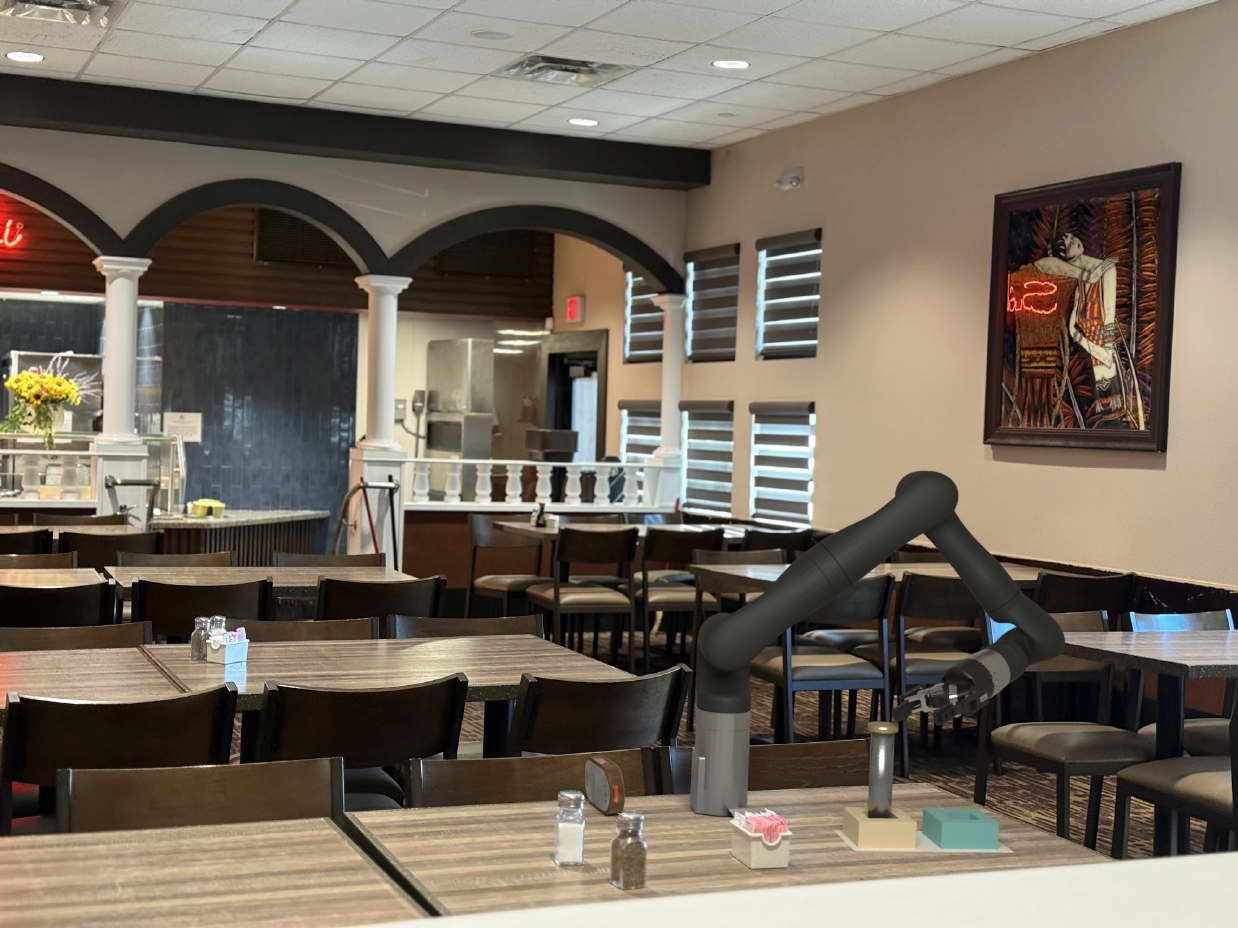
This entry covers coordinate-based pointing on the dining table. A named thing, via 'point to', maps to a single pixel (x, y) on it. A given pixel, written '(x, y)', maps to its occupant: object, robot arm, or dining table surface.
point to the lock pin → (881, 769)
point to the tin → (604, 785)
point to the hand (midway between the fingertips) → (914, 717)
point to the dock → (937, 835)
